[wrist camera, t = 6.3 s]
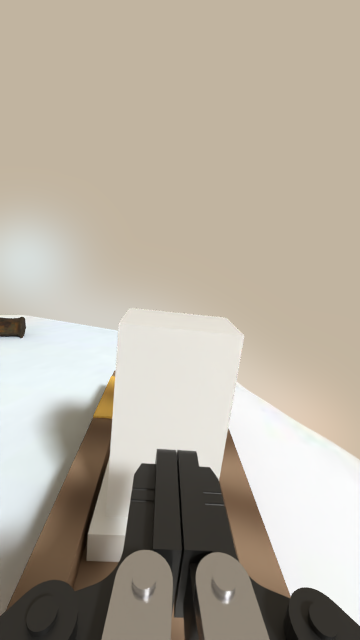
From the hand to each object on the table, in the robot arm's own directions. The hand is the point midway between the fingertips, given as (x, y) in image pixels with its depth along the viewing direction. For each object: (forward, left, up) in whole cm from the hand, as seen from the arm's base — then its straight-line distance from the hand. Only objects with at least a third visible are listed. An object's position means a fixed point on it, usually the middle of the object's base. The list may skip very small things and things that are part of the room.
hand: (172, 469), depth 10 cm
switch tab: (-4, +4, -8) cm, 10 cm away
